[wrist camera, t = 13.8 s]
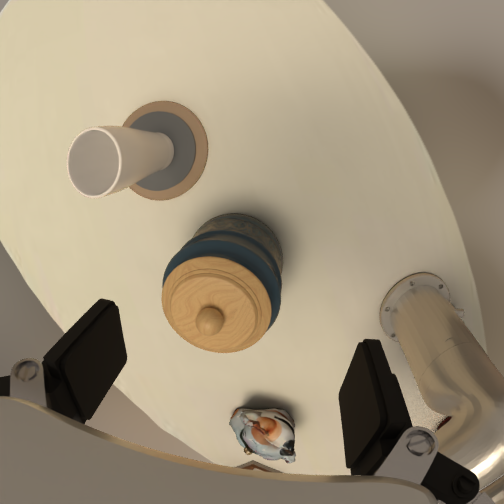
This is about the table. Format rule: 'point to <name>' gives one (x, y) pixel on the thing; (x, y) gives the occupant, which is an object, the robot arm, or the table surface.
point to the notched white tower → (257, 467)
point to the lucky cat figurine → (265, 433)
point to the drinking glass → (115, 158)
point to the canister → (225, 284)
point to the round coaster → (185, 148)
